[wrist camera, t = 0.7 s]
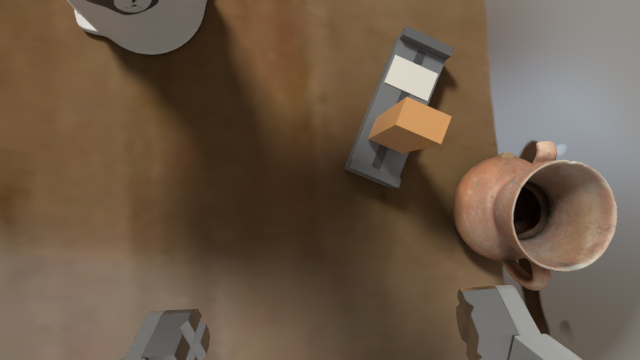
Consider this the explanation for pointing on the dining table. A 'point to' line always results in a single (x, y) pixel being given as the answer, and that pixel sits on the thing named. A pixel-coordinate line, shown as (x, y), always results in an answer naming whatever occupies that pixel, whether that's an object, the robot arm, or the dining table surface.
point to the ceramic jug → (535, 213)
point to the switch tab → (409, 127)
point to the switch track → (394, 85)
